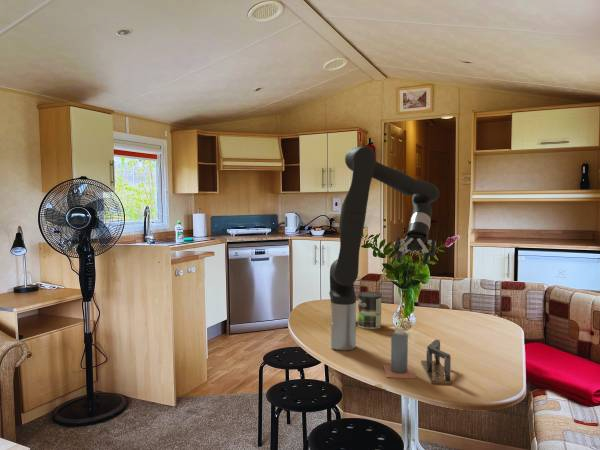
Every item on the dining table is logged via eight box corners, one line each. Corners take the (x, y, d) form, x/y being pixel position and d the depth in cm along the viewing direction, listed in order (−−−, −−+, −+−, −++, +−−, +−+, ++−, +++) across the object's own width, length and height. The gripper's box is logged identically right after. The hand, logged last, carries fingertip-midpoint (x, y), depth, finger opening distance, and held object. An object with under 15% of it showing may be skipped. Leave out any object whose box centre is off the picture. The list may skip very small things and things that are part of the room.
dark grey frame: (431, 384, 142) (432, 356, 141) (421, 363, 159) (421, 338, 158) (451, 384, 142) (452, 356, 141) (438, 363, 159) (439, 338, 158)
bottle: (392, 373, 149) (392, 330, 148) (390, 367, 154) (390, 326, 153) (408, 373, 149) (409, 331, 148) (406, 367, 154) (406, 326, 153)
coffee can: (365, 330, 196) (365, 297, 195) (353, 324, 206) (353, 292, 205) (386, 327, 201) (386, 295, 200) (373, 321, 210) (373, 290, 209)
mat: (387, 377, 147) (387, 376, 147) (383, 365, 157) (383, 364, 157) (415, 378, 146) (416, 377, 146) (410, 366, 156) (410, 365, 156)
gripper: (398, 220, 173) (389, 255, 163) (437, 221, 167) (431, 257, 157) (401, 233, 178) (393, 267, 169) (440, 234, 172) (433, 270, 162)
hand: (411, 262), depth 163 cm, fingers open, 8 cm apart
